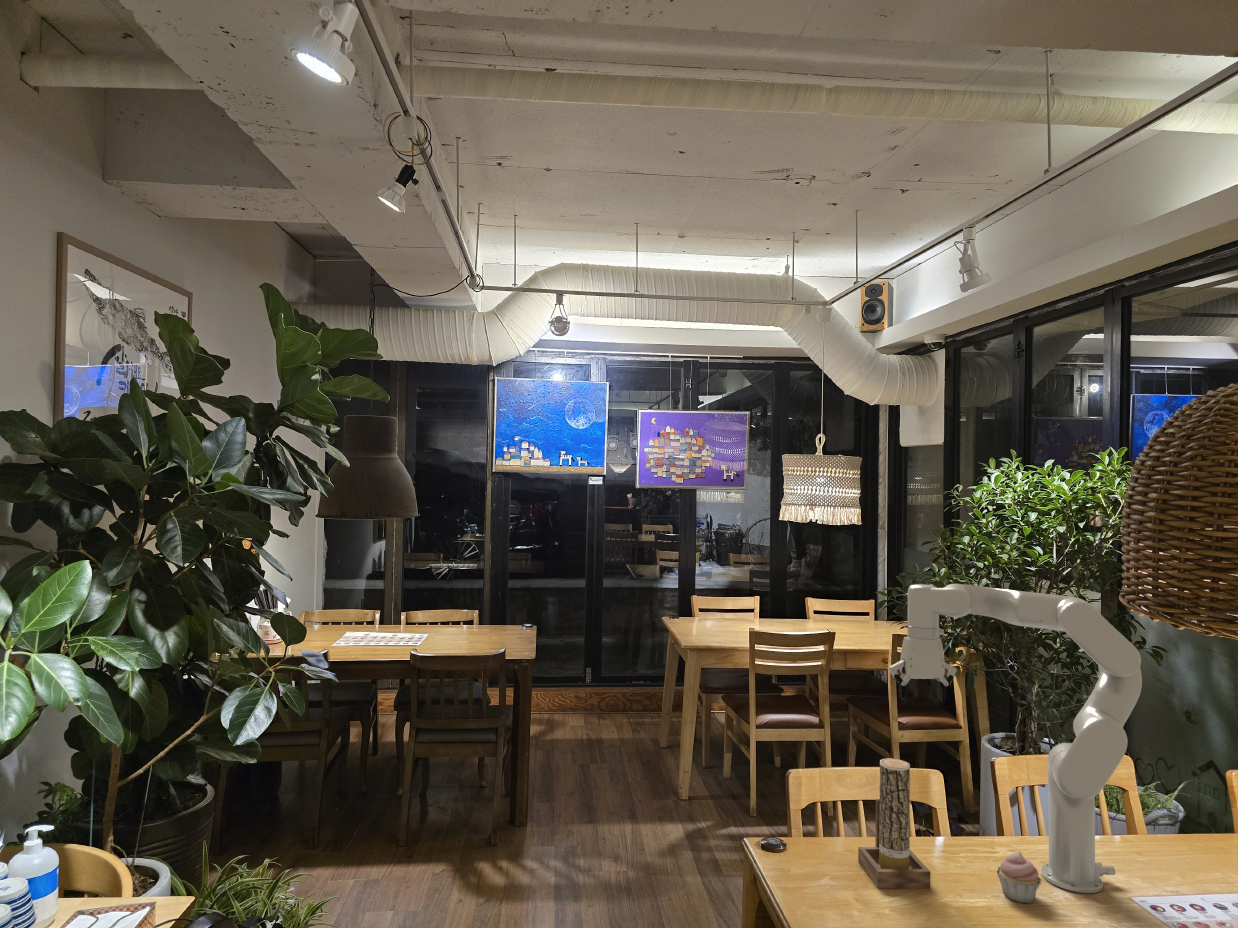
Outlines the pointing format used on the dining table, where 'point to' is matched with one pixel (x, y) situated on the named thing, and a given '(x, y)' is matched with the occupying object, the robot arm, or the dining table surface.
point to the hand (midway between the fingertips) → (922, 700)
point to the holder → (892, 877)
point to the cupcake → (1018, 878)
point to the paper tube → (894, 814)
